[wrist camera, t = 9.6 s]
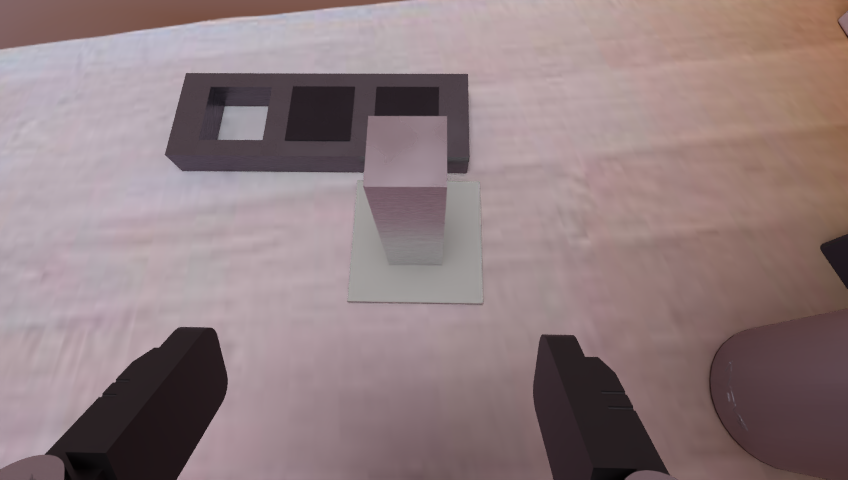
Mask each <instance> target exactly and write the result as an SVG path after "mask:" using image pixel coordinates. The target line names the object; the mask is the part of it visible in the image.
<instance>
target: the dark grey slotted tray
mask: <svg viewBox="0 0 848 480" xmlns="http://www.w3.org/2000/svg"><path fill="white" fill-rule="evenodd" d="M224 106H269V107H268V113H267V119H266V125H265V130H264V136H263V140H217V137H218V133H219V128H220V123H221V119H222V114H223V110H224ZM368 116H447V173H467V169H468V162H469V115H468V74H253V73H186V76H185V80H184V84H183V87H182V91H181V95H180V99H179V103H178V107H177V110H176V114H175V118H174V122H173V126H172V130H171V133H170V137H169V141H168V145H167V149H166V153H165V155H166V156H167V157H168V158H169V159H170V160H171V161H172V162H173V163H174V164H175V165H177V166H178V167H179V168H180V169H181V170H182V171H287V172H364V168H365V154H366V140H367V127H368Z"/></svg>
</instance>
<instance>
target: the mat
mask: <svg viewBox="0 0 848 480" xmlns="http://www.w3.org/2000/svg"><path fill="white" fill-rule="evenodd" d="M363 182H364V181H357V191H356V203H355V215H354V227H353V239H352V251H351V263H350V276H349V288H348V300H347V301H348V302H366V303H427V304H483V286H482V249H481V211H480V182H463V181H447V197H446V212H445V226H444V241H443V256H442V266H428V265H389V263H388V260H387V257H386V254H385V251H384V248H383V245H382V242H381V239H380V236H379V233H378V230H377V227H376V224H375V221H374V218H373V215H372V212H371V209H370V206H369V203H368V200H367V197H366V194H365V191H364V188H363Z"/></svg>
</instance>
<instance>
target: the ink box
mask: <svg viewBox="0 0 848 480" xmlns="http://www.w3.org/2000/svg"><path fill="white" fill-rule="evenodd" d="M838 22H839V23H840V25H841V27H842V28H843V30H844V31H845V33H846V34H847V36H848V11H847V12H846V13H845V14H844V15H843V16H842V17H841V18H840V19H839V20H838Z"/></svg>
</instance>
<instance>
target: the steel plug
mask: <svg viewBox="0 0 848 480" xmlns="http://www.w3.org/2000/svg"><path fill="white" fill-rule="evenodd" d="M363 188H364V191H365V194H366V197H367V200H368V203H369V206H370V209H371V212H372V215H373V218H374V221H375V224H376V227H377V230H378V233H379V236H380V239H381V242H382V245H383V248H384V251H385V254H386V257H387V260H388V263H389V265H428V266H442V256H443V241H444V226H445V212H446V197H447V116H368V127H367V140H366V154H365V168H364V182H363Z"/></svg>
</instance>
